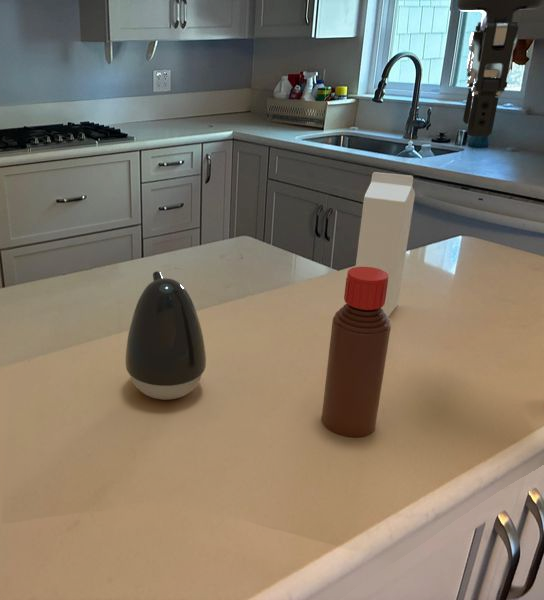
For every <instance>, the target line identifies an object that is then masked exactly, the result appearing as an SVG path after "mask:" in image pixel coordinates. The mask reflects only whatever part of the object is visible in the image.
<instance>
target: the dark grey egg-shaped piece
mask: <svg viewBox="0 0 544 600" xmlns="http://www.w3.org/2000/svg"><path fill="white" fill-rule="evenodd" d="M152 279H153V281H151V282H150V283H149V284H148V285H146V287H145V288H144V289H143V290H142V293H141V294H140V296H139V298H138V301H137V303H136V306H135V308H134V311H133V314H132V317H131V322H130V326H129V329H128V330H129V331H128V335H127V341H126V349H125V358H124V359H125V369H126V371H127V373H128V374H129V377H130V379H131V382H132V384H134V386H135V387H136V389H138V391H139V392H141V393H142V394H144V395H145V396H148V397H150V398H152V399H156V400H164V401H165V400H166V401H167V400H175V399H180V398H182V397H184V396H186V395H188V394H190V393H191V392H192V391H193V390H194V389H195V388H196V387H197V386H198V385H199V382H200V381H201V379H202V376H203V373H204V372H205V370H206V368H207V353H206V345H205V340H204V334H203V330H202V327H201V323H200V320H199V315H198V313H197V310H196V307H195V304H194V302H193V300H192V298H191V296H190V293H189V292H188V291H187V289H186V288H185V287H184V286H183V285H182V284H181V282H179V281H177V280H175V279H172V278H170V277H169V278H167V277H164V278H163V275H162V273H161V272H160V271H159V270H158V271H157V270H156V271H154V272H152Z"/></svg>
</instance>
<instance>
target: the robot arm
mask: <svg viewBox="0 0 544 600" xmlns="http://www.w3.org/2000/svg"><path fill="white" fill-rule="evenodd" d="M543 5H544V0H457V9H458V11H460V12H479V13H481V14H482V17H481V21H478V22H477V25H475V31H474V30H471V32H470V37H469V43H468V44H469V45H468V50H469V54H468V58H467V63H466V64H467V65H466V72H467V74H466V77H467V80H466V85H467V88H468V89H467V94H466V100H465V106H464V111H463V116H462V121H463V123H464V124H467V127H466V134H467V135H468V136H470V137H489V136H490V135H492V133H493V129H494V124H495V118H496V112H497V108H498V103H499V97H501V96H502V94H503V93H504V92H505V89H506V88H507V86H508V81H507V80H508V76H509V73H510V71H511V68H512V64H513V55H514V50H515V48H516V47H517V43H518V40H519V39H518V38H519V25H518V21H514V14H515V13H516V12H517V11H522V10H523V11H525V10H536V9H539V8H542V6H543Z"/></svg>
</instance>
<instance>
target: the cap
mask: <svg viewBox="0 0 544 600" xmlns="http://www.w3.org/2000/svg"><path fill="white" fill-rule="evenodd" d="M387 285H388V273H387V272H385V271H383V270H381V269H377V268H373V267H356V266H355V267H351V268H350V269H348V270H347V275H346V278H345V287H344V295H343V300H344V302H345V304H348V305H350V306H352V307H355V308H358V309H365V310H374V309H379V308H381V307H383V306H384V304H385V299H386V292H387Z"/></svg>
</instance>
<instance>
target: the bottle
mask: <svg viewBox="0 0 544 600" xmlns="http://www.w3.org/2000/svg"><path fill="white" fill-rule="evenodd" d="M391 325H392V324H391V321H390V318H389V317H387V316H386V314H385V313H384V311H383V309H382V308H379V309H374V310H365V309H358V308H355V307H352V306H350V305H348V304H347V303H345V304H343V306H342V307H340V308H339V310H337V311H336V312H335V313H334V316H333V317H332V321H331V332H330V338H329V339H330V340H329V348H328V349H329V350H328V357H327V365H326V366H327V367H326V375H325V384H324V385H325V386H324V393H323V403H322V409H321V410H322V411H321V422H322V424H323V425H324V426H325V428H327V429H328V430H329V431H331V432H332V433H334V434H337V435H339V436H343V437H347V438H361V437H367V436H368V435H371V434H372V433H373V432H374V431H375V428H376V425H377V418H378V412H379V405H380V398H381V393H382V386H383V380H384V373H385V367H386V361H387V355H388V347H389V341H390V336H391V328H392V326H391Z"/></svg>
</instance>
